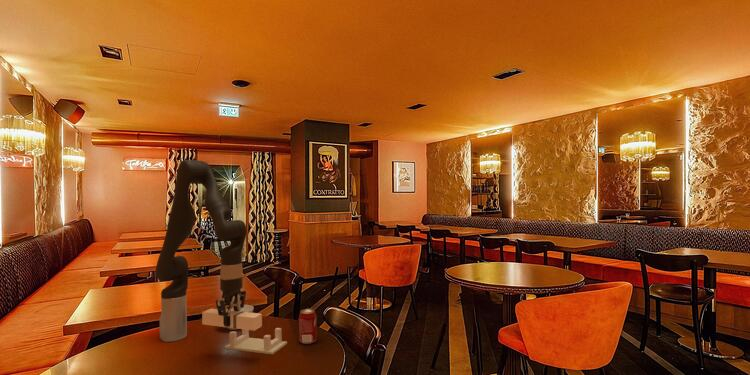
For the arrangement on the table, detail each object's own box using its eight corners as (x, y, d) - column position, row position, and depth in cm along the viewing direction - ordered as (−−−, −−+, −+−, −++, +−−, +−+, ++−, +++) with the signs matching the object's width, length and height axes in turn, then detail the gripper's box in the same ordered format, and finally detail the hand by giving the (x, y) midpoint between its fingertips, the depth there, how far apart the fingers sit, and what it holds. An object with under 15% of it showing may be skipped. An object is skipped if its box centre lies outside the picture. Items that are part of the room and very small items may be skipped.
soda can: (313, 345, 144) (312, 314, 144) (296, 344, 145) (295, 313, 146) (319, 338, 151) (318, 308, 151) (303, 337, 152) (302, 308, 152)
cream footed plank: (224, 348, 143) (224, 332, 143) (241, 338, 153) (241, 323, 153) (272, 354, 137) (272, 337, 137) (287, 343, 146) (286, 328, 146)
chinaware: (212, 327, 167) (212, 309, 167) (245, 319, 177) (245, 302, 177) (225, 336, 156) (225, 317, 156) (259, 327, 166) (259, 309, 166)
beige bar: (202, 324, 136) (202, 311, 136) (211, 320, 141) (211, 308, 141) (254, 330, 130) (254, 317, 130) (261, 326, 134) (261, 313, 134)
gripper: (235, 271, 143) (235, 316, 143) (208, 280, 130) (208, 329, 129) (252, 272, 141) (252, 318, 141) (226, 281, 127) (227, 332, 127)
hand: (231, 323), depth 135 cm, fingers closed on beige bar, 4 cm apart
